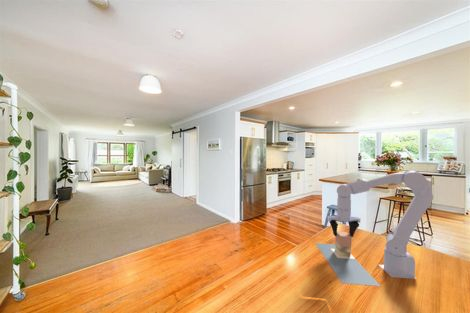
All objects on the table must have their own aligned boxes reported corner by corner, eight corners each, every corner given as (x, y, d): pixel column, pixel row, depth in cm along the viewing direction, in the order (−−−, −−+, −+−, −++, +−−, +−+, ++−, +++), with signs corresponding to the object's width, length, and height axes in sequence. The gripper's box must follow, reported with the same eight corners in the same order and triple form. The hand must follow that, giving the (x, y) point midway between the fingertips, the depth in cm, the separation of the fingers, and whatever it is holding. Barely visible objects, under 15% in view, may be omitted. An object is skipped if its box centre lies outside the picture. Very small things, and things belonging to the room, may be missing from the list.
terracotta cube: (345, 241, 91) (346, 231, 91) (351, 246, 86) (351, 236, 86) (335, 241, 92) (335, 231, 92) (340, 246, 87) (340, 236, 87)
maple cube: (345, 250, 92) (345, 241, 91) (350, 256, 87) (350, 246, 86) (334, 250, 92) (335, 240, 92) (339, 256, 87) (339, 245, 87)
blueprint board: (341, 245, 98) (342, 244, 98) (380, 287, 68) (380, 285, 68) (315, 244, 99) (315, 242, 99) (341, 284, 70) (341, 282, 70)
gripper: (354, 206, 92) (354, 232, 92) (325, 205, 93) (324, 231, 94) (363, 211, 85) (362, 239, 85) (331, 209, 86) (330, 237, 87)
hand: (343, 235), depth 89 cm, fingers open, 7 cm apart
